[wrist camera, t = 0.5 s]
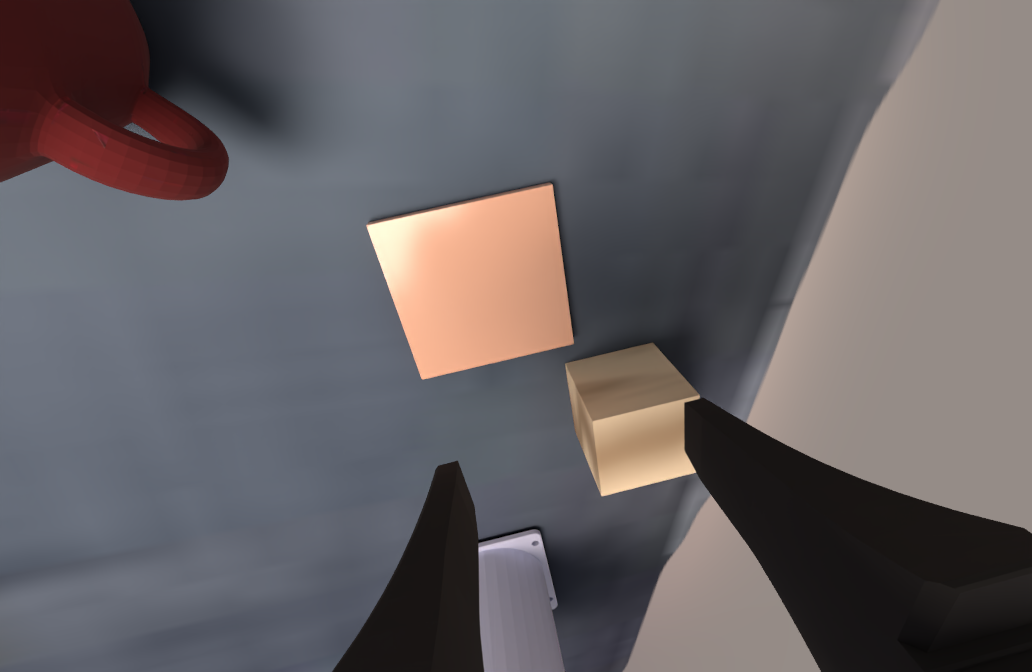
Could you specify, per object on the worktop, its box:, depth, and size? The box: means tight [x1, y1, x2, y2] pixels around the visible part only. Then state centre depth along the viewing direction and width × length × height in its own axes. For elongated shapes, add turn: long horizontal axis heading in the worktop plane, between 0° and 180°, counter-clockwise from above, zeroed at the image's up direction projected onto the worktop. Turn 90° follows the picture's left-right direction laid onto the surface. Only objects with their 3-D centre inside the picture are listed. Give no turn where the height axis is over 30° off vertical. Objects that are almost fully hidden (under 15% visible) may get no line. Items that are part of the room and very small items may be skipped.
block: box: [565, 343, 700, 496], centre depth 22 cm, size 5×5×5 cm
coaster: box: [367, 182, 574, 380], centre depth 20 cm, size 8×8×1 cm
